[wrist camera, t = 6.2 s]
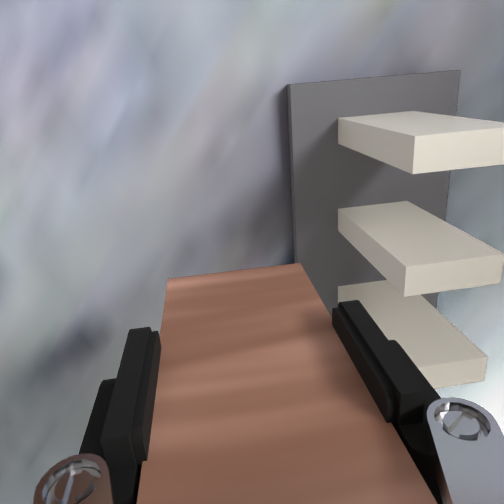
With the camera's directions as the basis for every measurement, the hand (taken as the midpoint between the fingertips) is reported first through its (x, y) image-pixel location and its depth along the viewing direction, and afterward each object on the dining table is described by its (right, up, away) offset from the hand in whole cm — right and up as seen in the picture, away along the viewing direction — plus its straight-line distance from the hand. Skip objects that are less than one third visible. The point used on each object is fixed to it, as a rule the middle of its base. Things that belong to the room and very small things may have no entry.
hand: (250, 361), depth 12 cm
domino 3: (+9, +6, +18) cm, 20 cm away
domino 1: (-1, +2, +4) cm, 5 cm away
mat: (+9, +1, +21) cm, 23 cm away
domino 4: (+9, 0, +20) cm, 22 cm away
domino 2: (+8, +11, +15) cm, 21 cm away
